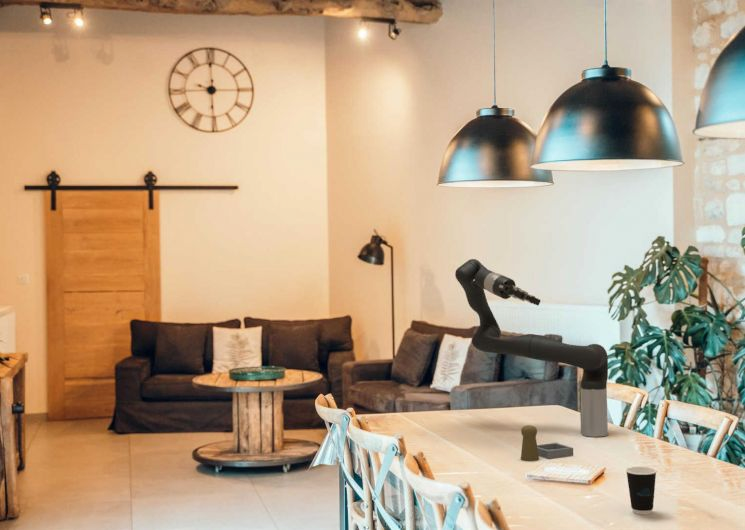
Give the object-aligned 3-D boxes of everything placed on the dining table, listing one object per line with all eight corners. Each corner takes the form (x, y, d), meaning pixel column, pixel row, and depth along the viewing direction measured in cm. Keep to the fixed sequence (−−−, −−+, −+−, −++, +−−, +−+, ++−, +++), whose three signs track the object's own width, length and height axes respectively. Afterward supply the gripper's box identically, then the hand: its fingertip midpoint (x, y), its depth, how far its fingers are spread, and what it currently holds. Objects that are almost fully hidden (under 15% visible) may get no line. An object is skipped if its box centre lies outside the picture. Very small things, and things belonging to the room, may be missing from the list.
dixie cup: (644, 517, 243) (643, 474, 243) (620, 511, 250) (618, 469, 249) (664, 512, 248) (663, 470, 248) (639, 506, 254) (638, 465, 254)
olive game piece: (517, 459, 315) (516, 426, 314) (527, 456, 319) (526, 423, 319) (532, 462, 310) (531, 428, 310) (542, 458, 315) (541, 425, 315)
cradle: (531, 453, 323) (531, 445, 323) (556, 450, 327) (556, 442, 327) (547, 459, 314) (547, 451, 314) (573, 455, 318) (573, 447, 318)
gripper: (507, 299, 347) (539, 314, 334) (482, 289, 337) (514, 304, 325) (515, 280, 346) (548, 294, 334) (491, 270, 337) (523, 284, 325)
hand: (531, 299), depth 330 cm, fingers open, 8 cm apart
